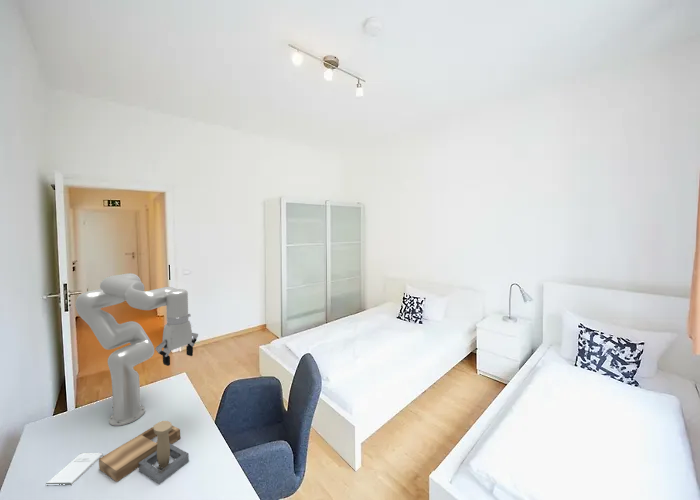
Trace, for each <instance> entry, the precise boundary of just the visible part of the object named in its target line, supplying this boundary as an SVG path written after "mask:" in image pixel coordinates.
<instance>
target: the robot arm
mask: <svg viewBox="0 0 700 500" xmlns="http://www.w3.org/2000/svg"><path fill="white" fill-rule="evenodd" d="M188 294H189V293H188V291H187V289H184V288H175V287H172V286H164V287H160V288H155V289H151V290H147V291H145V285H144V283H143V282H142V281H141V278H140V277H139V276H138V275H137V274H135V273H132V272H131V273H130V272H129V273H123V274H114V275H111V276H107V277H105V278H103V280H101V282H100V284H99V288H98V289H93V290H89V291H85V292H83V293H81V294H79V295H78V296H77V298H76V300H75V305H74V306H75V309H76V313H77V314H78V316H79V317H80V318H81V319H82V321H84V322H85V323H86V324H87V325H88V326H89V328H90V329H91V332H93V334H94V336H95V337H96V339H97V341H98V342H99V344H100V346H102V348H103V349H104V350H108V351H109V350H114V349H116V348H118V349H116V350H115V351H113V352H112V353H111V354H110V355H109V356H108V358H107V367H108V369H109V372H110V378H111V391H112V392H111V393H112V411H113V412H112V414H111V416H110V417H109V419H108V424H109V425H111V426H118V427H121V426H124V425H129V424H131V423H133V422H135V421H137V420H138V419H140V418H141V417H142V416H144V414H145V412H146V411H145V410H146V409H145V407H144V406H142V405H141V387H140V374H139V373H138V371H136V370H135V369H134V367H136V366H137V365H140V364H142V363H143V362H146V361H148V360H149V359H150V358H152V357H153V355H154V354H155V351H156V352H157V353H158V355H160V356H162V364H163V365H165V366H168V367H169V366H170V365H171V356H170V354H171V352H172V351H174V350H177V349H179V348H182V347H184V346H186V349H185V350H186V356H189V357H193V355H194V354H193V353H194V346H195V343H196V342H197V341H198V340H197V339H198V337H199V333H196V332H193V331H192V325H191V321H190V320H189V318H190V317H191V313H189V297H188V296H189V295H188ZM125 301H126V303H127V304H128V306H129V307H131V308H133V309H136V310H137V309H138V310H141V311H152V310H154V309H158V308H161V307H166V324H164V327H163V333H162V342H161V343H159V344H158V345H157V346H156V347H155V346H154V345H153V342H152V341H151V339H150V337H149V336H148V334H147V333H146V331H145V330H144V328H143V326H142V325H141V324H140V323H138V321H137V322H136V321H126V322H122V323H118V322H117V320H116V318H115V317H114V316H113V314H111V313H109V311H108V312H107V311H105V310H103V309H102V308H107V307H111V306H115V305H119V304H121V303H124V302H125ZM127 344H129V345H127ZM124 345H126V346H124ZM119 347H121V348H119ZM162 349H163V350H162Z"/></svg>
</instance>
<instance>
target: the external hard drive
mask: <svg viewBox="0 0 700 500" xmlns="http://www.w3.org/2000/svg"><path fill="white" fill-rule="evenodd" d="M103 456H104V454H103V453H102V452H96V453H95V452H92V453H91V452H86V453H83V452H82V453H80V454H78V455H77V456H76V457H75V458H73V459H72V460H71V461H70V462H69V463H68V464H67V465H66V466H64V467H63V468H62V469H61V470H60V471H58V472H57V473H56V474H55V475H54V476H52V477H51V478H50V479H49V480H48V481H47V482H45V485H46V484H59V485H60V484H61V485H63V484H65V485H71V486H73V485H74V484H75V483H74V482H77V481H78V480H79V479H80V478H81V477H82V476H83V475H84V474H85V473H87V471H88V470H89V469H91V468H92V467H93V465H95V464H96V462H99V458H101V457H103ZM73 483H74V484H73ZM72 484H73V485H72Z"/></svg>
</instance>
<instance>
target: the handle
mask: <svg viewBox="0 0 700 500" xmlns="http://www.w3.org/2000/svg"><path fill="white" fill-rule="evenodd" d="M172 426H173V424H172V422H171V421H168V420H160V421H159V422H157V423H155V424H154V425H153V426H152V427H154V433H155V434H156V435H157V436H156V437H157V438H156V439H157V441H156V442H157V459H158V461H157V464H158V469H159V470H162V469H163V468H165V467H166V466H168V465H169V464H170V458H171V456H170V443H169V434H168V432H169V431H170V430H171V429H172Z"/></svg>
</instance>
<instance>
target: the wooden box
mask: <svg viewBox="0 0 700 500" xmlns="http://www.w3.org/2000/svg"><path fill="white" fill-rule="evenodd" d="M168 434H169V443H170V444H172V445H174V444H175V443H176V442H178V441H179V440H180V439H181V429H180V428H178V427H177V426H174V425H172V429H171V430H170V431H169V432H168ZM156 437H157V435H156V434H155V433H154V427H153V426H152V427H150V428H148V429H147V430H145V431H144V432H142V433H140V434H139V435H137V436H135V437H133V438H132V439H130V440H128V441H127V442H125V443H123V444H122V445H120V446H118V447H117V448H115V449H113V450H112V451H109V452H108V453H106V454H104V455H103V456H102V457H101V458H99V460H98V467H99V469H98V470H100V472H102V473H104V474H105V475H106V476H108V477H109V478H111V479H112V480H114V481H115V482H116V483H118V482H119V481H121V480H122V479H123V478H125V477H127V476H128V475H130V474H131V473H132V472H134V471H136V469H139V464H138V463H139V462H141V461H142V460H144V459H145V458H147V457H148V456H150V455H151V454H153V453H154V452H155V451H157V441H156V442H155V441H153V439H155V438H156Z"/></svg>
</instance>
